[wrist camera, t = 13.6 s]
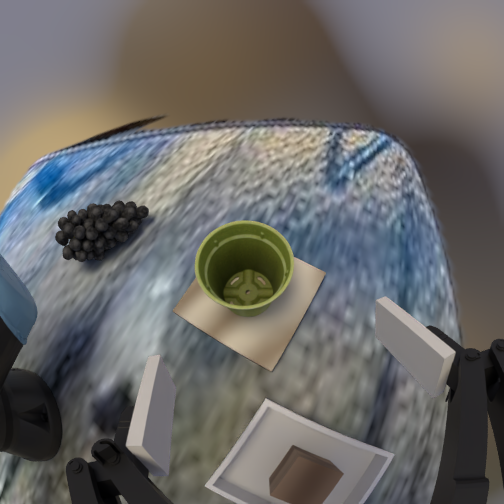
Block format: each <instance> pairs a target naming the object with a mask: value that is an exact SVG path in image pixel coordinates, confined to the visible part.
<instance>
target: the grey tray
mask: <svg viewBox="0 0 504 504" xmlns="http://www.w3.org/2000/svg"><path fill="white" fill-rule="evenodd" d="M292 445H294V446H297V447H299V448H301V449H303V450H306V451H308V452H310V453H313V454H315V455H317V456H320V457H322V458H325V459H327V460H330V461H331V462H332V463H333V464H334V465H335V466H336V467H337V468H338V469H339V470H340V471H342V472H343V473H344V474H343V476H342V477H341V479H340V480H339V482H338V483H337V485H336V486H335V487H334V489H333V490H332V492H331V493H330V494H329V496H328V497H327V498H326V500H325V501H324V502H323V504H363V503H364V502H365V501H366V499H367V498H368V496H369V495H370V494H371V492H372V491H373V489H374V488H375V486H376V485H377V483H378V482H379V480H380V479H381V477H382V475H383V474H384V472H385V470H386V469H387V467H388V465H389V464H390V462H391V460H392V459H393V457H394V455H395V454H393V453H391V452H388V451H385V450H383V449H380V448H378V447H375V446H372V445H369V444H367V443H364V442H361V441H359V440H356V439H353V438H351V437H348V436H346V435H344V434H341V433H339V432H336V431H334V430H332V429H329V428H327V427H325V426H323V425H320V424H318V423H316V422H314V421H312V420H309V419H307V418H305V417H303V416H301V415H299V414H297V413H295V412H293V411H291V410H289V409H287V408H285V407H283V406H281V405H279V404H277V403H275V402H273V401H271V400H269V399H268V398H265V399H264V401H263V403H262V404H261V406H260V407H259V409H258V410H257V412H256V413H255V415H254V417H253V418H252V420H251V421H250V423H249V424H248V426H247V427H246V429H245V430H244V431H243V433H242V434H241V436H240V437H239V439H238V440H237V442H236V443H235V444H234V446H233V447H232V449H231V450H230V451H229V453H228V454H227V456H226V457H225V458H224V460H223V461H222V462H221V464H220V465H219V467H218V468H217V469H216V471H215V472H214V473H213V474H212V476H211V477H210V479H209V480H208V482H207V483H206V484H205V487H207V488H209V489H210V490H212V491H214V492H216V493H218V494H220V495H222V496H223V497H225V498H227V499H229V500H231V501H233V502H235V503H237V504H290V503H287V502H284V501H282V500H279V499H277V498H275V497H272V496H270V490H269V477H270V476H271V475H272V473H273V472H274V471H275V469H276V468H277V466H278V465H279V464H280V462H281V461H282V459H283V458H284V456H285V455H286V453H287V452H288V451H289V449H290V448H291V446H292Z"/></svg>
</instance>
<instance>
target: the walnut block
mask: <svg viewBox="0 0 504 504" xmlns="http://www.w3.org/2000/svg"><path fill="white" fill-rule="evenodd" d="M343 474H344V473H343V472H342V471H340V470H339V469H338V468H337V467H336V466H335V465H334V464H333V463H332V462H331V461H330V460H327V459H325V458H322V457H320V456H317V455H315V454H313V453H310V452H308V451H306V450H303V449H301V448H299V447H297V446H294V445H292V446H291V448H290V449H289V451H288V452H287V453H286V455H285V456H284V458H283V459H282V461H281V462H280V464H279V465H278V466H277V468H276V469H275V471H274V472H273V473H272V475H271V476H270V477H269V490H270V496H272V497H275V498H277V499H279V500H282V501H284V502H287V503H290V504H323V502H324V501H325V500H326V498H327V497H328V496H329V494H330V493H331V492H332V490H333V489H334V487H335V486H336V485H337V483H338V482H339V480H340V479H341V477H342V476H343Z"/></svg>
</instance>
